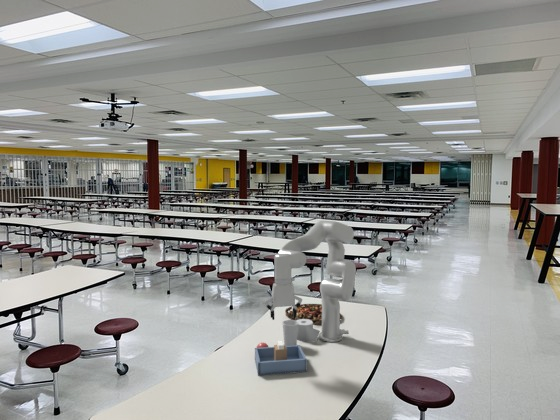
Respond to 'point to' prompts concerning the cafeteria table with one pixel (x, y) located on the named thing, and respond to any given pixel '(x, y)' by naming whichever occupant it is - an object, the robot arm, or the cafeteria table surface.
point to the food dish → (308, 313)
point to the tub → (280, 361)
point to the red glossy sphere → (262, 345)
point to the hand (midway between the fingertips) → (283, 318)
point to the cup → (290, 332)
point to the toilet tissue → (306, 331)
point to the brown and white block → (280, 351)
